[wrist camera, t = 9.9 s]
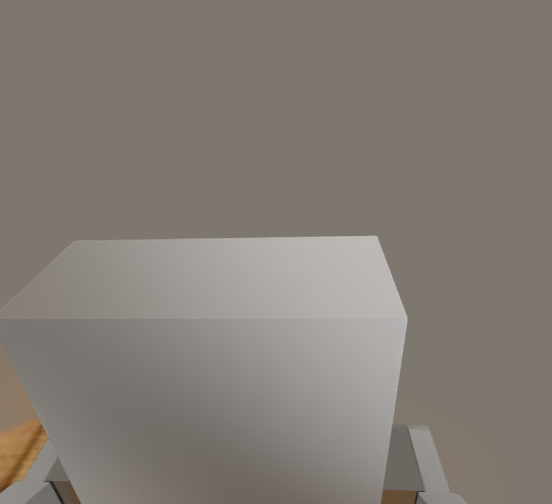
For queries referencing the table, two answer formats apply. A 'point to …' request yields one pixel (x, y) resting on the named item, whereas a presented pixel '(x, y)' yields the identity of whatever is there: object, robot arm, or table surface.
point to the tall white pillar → (214, 368)
